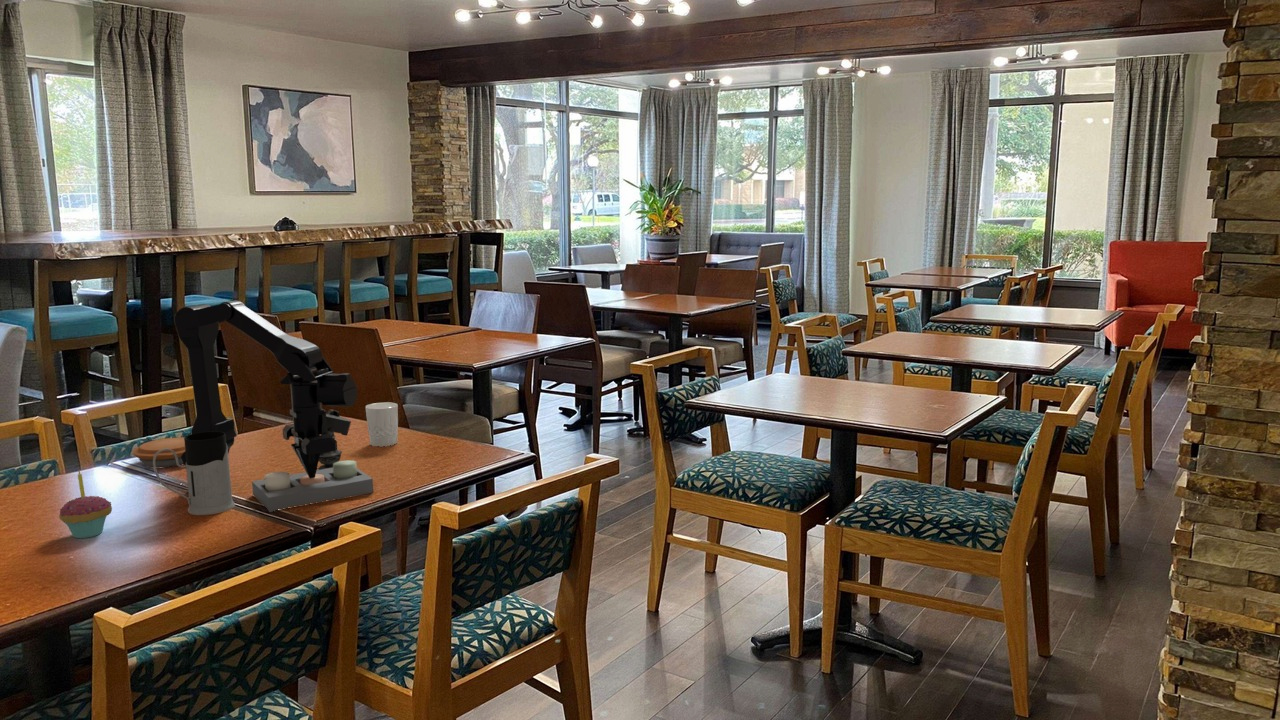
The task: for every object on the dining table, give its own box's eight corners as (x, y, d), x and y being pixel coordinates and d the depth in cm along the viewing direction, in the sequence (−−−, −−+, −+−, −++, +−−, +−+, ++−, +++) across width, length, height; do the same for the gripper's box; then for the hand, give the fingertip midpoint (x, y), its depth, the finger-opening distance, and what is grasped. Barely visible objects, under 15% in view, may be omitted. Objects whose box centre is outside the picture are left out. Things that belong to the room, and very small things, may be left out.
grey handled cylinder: (241, 508, 186) (235, 435, 184) (165, 524, 177) (157, 448, 175) (226, 498, 193) (220, 428, 190) (152, 513, 184) (144, 440, 181)
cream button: (269, 495, 188) (267, 479, 187) (263, 490, 191) (261, 474, 191) (293, 491, 190) (292, 475, 190) (287, 486, 194) (285, 470, 194)
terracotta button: (304, 497, 192) (303, 482, 191) (298, 492, 196) (297, 476, 195) (328, 493, 195) (327, 477, 194) (321, 488, 198) (320, 472, 198)
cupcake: (56, 534, 173) (49, 472, 171) (107, 523, 179) (100, 462, 177) (69, 545, 167) (61, 481, 165) (120, 533, 173) (114, 471, 171)
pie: (191, 450, 233) (189, 430, 232) (216, 461, 223) (214, 440, 222) (124, 462, 222) (122, 442, 222) (147, 474, 212) (145, 453, 211)
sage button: (338, 483, 196) (337, 467, 195) (331, 478, 199) (330, 462, 199) (360, 479, 198) (359, 463, 198) (353, 474, 202) (352, 459, 202)
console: (270, 512, 184) (268, 497, 183) (253, 495, 195) (251, 481, 194) (373, 492, 196) (372, 478, 195) (351, 477, 207) (351, 464, 206)
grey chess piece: (347, 464, 217) (344, 414, 215) (336, 471, 212) (333, 420, 210) (323, 464, 218) (319, 414, 216) (312, 471, 212) (308, 420, 210)
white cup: (406, 442, 238) (404, 404, 236) (382, 449, 231) (380, 410, 229) (384, 438, 242) (382, 401, 240) (361, 445, 235) (358, 406, 233)
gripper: (359, 407, 189) (364, 480, 192) (331, 393, 204) (336, 461, 207) (304, 414, 183) (309, 490, 185) (279, 399, 198) (285, 470, 200)
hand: (312, 477), depth 195 cm, fingers closed, pressing on terracotta button
